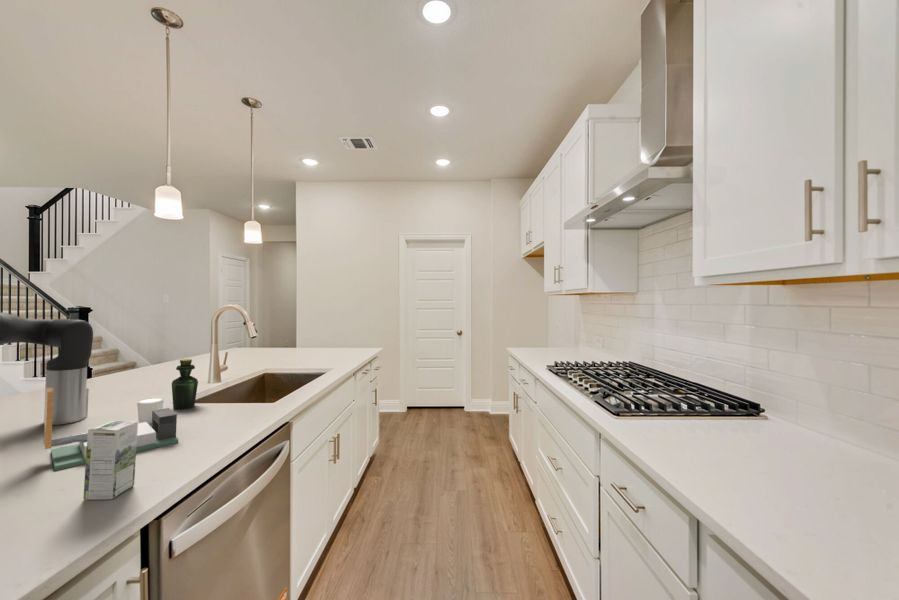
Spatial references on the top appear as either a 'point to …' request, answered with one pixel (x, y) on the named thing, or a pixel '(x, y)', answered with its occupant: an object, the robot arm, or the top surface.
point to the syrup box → (110, 460)
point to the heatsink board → (77, 458)
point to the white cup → (148, 408)
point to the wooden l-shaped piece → (48, 425)
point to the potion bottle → (184, 386)
